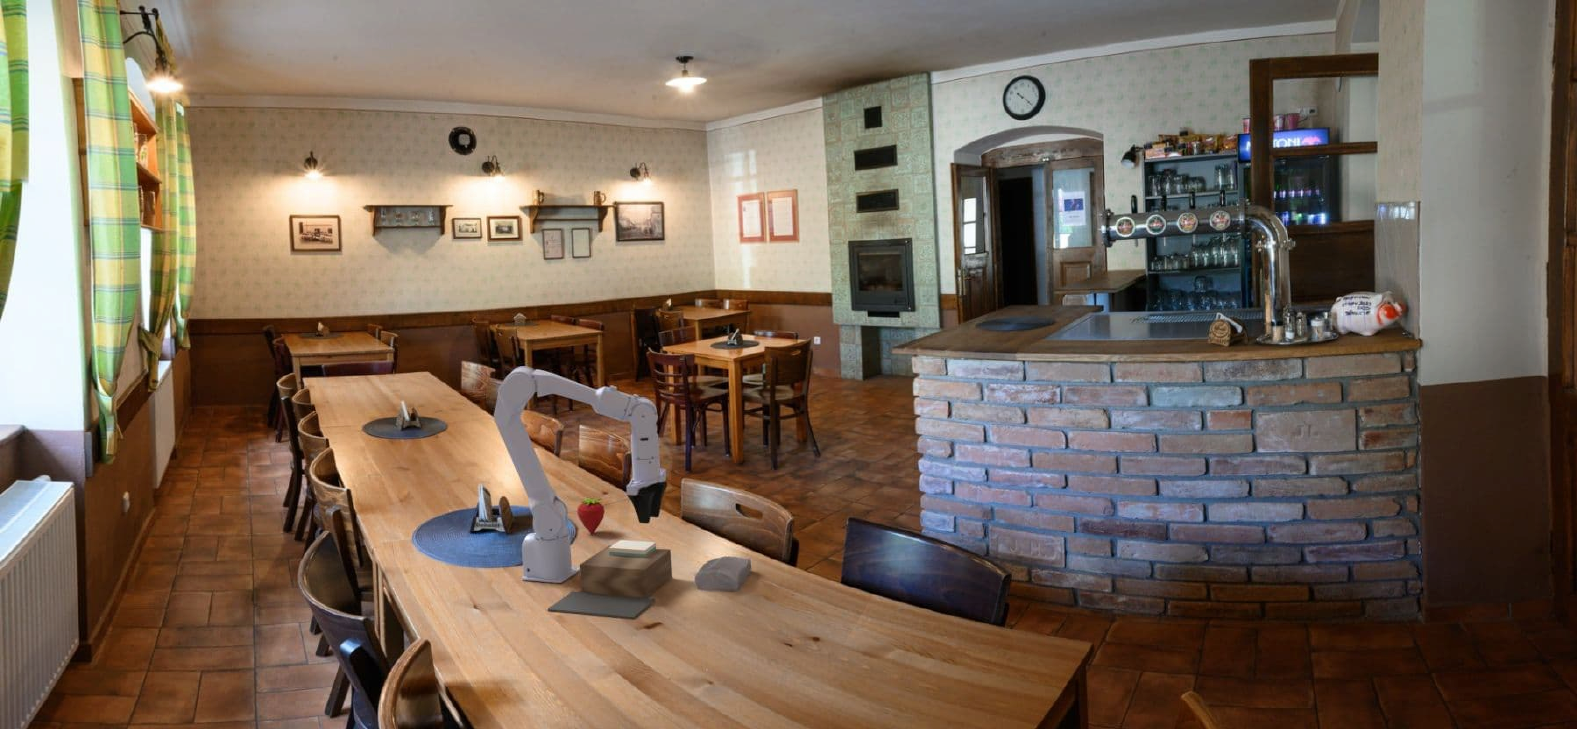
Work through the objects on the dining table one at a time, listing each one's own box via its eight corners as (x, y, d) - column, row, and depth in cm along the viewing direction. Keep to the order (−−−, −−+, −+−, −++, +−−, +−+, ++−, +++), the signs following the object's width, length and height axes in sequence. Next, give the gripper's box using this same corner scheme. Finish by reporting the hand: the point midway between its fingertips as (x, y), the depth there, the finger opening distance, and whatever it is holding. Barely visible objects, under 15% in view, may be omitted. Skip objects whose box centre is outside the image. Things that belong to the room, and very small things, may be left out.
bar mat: (547, 610, 172) (547, 608, 172) (572, 593, 181) (572, 591, 181) (633, 619, 167) (633, 617, 167) (655, 600, 176) (655, 598, 175)
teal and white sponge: (609, 554, 185) (608, 547, 185) (621, 546, 190) (620, 540, 189) (645, 557, 182) (644, 550, 182) (656, 549, 187) (655, 542, 187)
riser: (581, 594, 180) (579, 564, 180) (611, 572, 192) (609, 545, 191) (645, 599, 176) (644, 569, 175) (672, 577, 187) (670, 549, 187)
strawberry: (594, 527, 225) (591, 487, 223) (611, 533, 219) (608, 492, 218) (573, 532, 220) (570, 492, 219) (590, 539, 215) (587, 497, 214)
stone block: (693, 599, 181) (741, 591, 178) (688, 576, 180) (735, 568, 178) (710, 580, 192) (755, 572, 190) (705, 558, 192) (750, 550, 190)
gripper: (647, 465, 183) (651, 531, 185) (677, 449, 197) (680, 510, 199) (615, 464, 185) (619, 529, 187) (647, 448, 199) (651, 509, 201)
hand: (649, 519), depth 193 cm, fingers open, 4 cm apart
